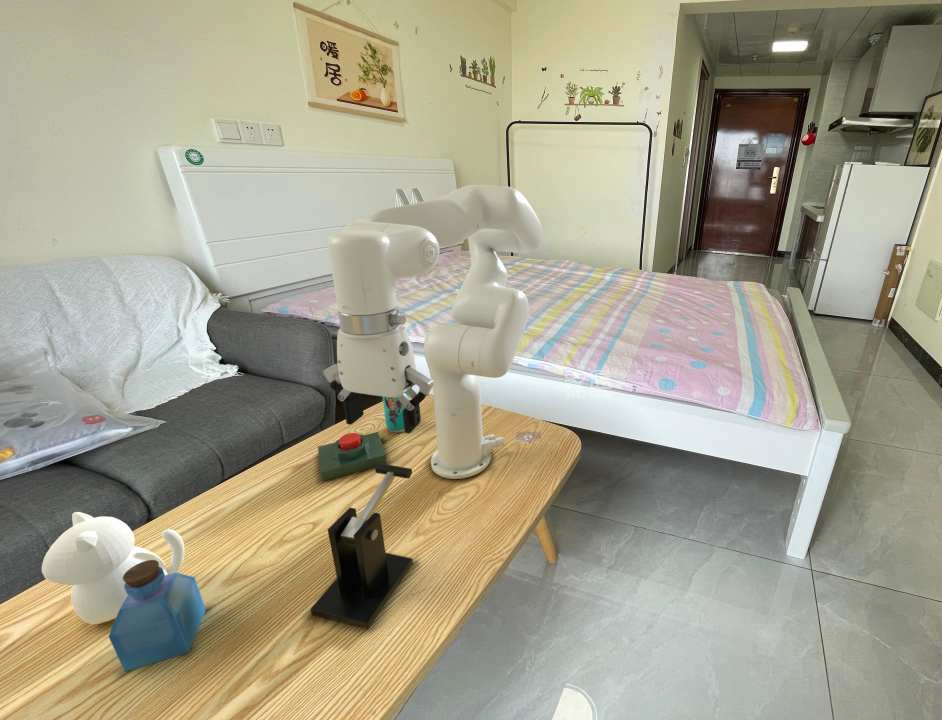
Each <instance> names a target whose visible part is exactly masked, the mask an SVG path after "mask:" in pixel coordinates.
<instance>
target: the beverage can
mask: <svg viewBox="0 0 942 720" xmlns="http://www.w3.org/2000/svg"><path fill="white" fill-rule="evenodd" d="M405 394H406V395H407V396H408V398H409V399H410V396H409V395H408V394H407V392H405ZM381 397H382V405H383V412H384V413H383V414H384V420H385V426H386V427H387V429H388V431H390V432H391V433H394V434H399V433H403V432H405V430H404V421H403V410H404V409H405V407H404V406H403V404H402V403H401V402H400V401H399V400H398V399H397V398H392V397H384V396H381Z"/></svg>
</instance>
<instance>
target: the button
mask: <svg viewBox="0 0 942 720" xmlns="http://www.w3.org/2000/svg"><path fill="white" fill-rule="evenodd" d="M338 440H339V445H340V448H341V449H342V450H350V449H354V448H356V447H358V446H360V444H361V439H360V435H359V433H358V432H350V433H349V432H348V433H345V434H344V435H341V436H340V437H339V439H338Z"/></svg>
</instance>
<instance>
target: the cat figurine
mask: <svg viewBox="0 0 942 720" xmlns="http://www.w3.org/2000/svg"><path fill="white" fill-rule="evenodd" d="M71 521H72V526H71V527H69V528H68V529H67V530H65V531H64V532H63V533H62V534H61V535H59V536H58V537H57V539H56V540H55V541H54V542H53V543H52V544H51V546H50V547H49V549H48V550H47V552H45V555H44V557H43V560H42V563H41V573H42V575H43V577H44V579H46V580H48V581H50V582H52V583H54V584H59V585H64V586H65V585H66V586H71V591H70V601H71V605H72V608H73V610H74V613H75V614H76V615H77V617H78V618H79V619H80V621H82V622H84V623H86V624H88V625H99V624H103V623H107V622H110V621H112V620H115V619H116V617H117V614H118V612H119V610H120V608H121V606H122V605H123V603H124V601H125V600H126V598H127V596H128V594H127V593H126V590H125V588H124V585H125V581H124V580H123V576H124V574H125V573H126V572H127V571H128V570H129V569H130V568H132V567H133V566H135V565H137V564H139V563H141V562H144V561H147V560H156V561H158V563H159V567H161V568H162V569H163V571H164V574H165V575H169V574H173V573H179V571H180V570H181V567H182V566H183V563H184V559H185V544H184V540H183V538H182V536H181V535H180V534H179V533H178V532H177V531H175V530H174V529H171V528H167V529H164V530H163V531H162V533H161V536H162V538H163V539H164V541H166V543H167V544H168V546H169V548H170V549H171V559H170V563H169V566H168V567H167V566H166V563H165V561H164V560H163V559H162V558H161V557H160V556H159V555H157V554H156V553H154V552H152V551H150V550H147V548H143V547H141V546H135V542H136V541H135V534H134V532H133V530H132V529H131V528H130V526H128V524H127V523H125V522H124V521H122V520H121V519H119V518H117V517H114V516H103V515H102V516H96V517H93V516H92V515H90V514H88V513H84V512H80V511H74V512H72V514H71Z"/></svg>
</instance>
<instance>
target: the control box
mask: <svg viewBox="0 0 942 720" xmlns="http://www.w3.org/2000/svg"><path fill="white" fill-rule="evenodd" d="M358 434H359V433H358ZM359 435H360V439H361V444H360V446H358V447H356V448H354V449H350V450H342V449H341V448H340V445H339V439H337V440H335V441H334V442H331V443H327V444H323V445H318V446H317V452H318V461H319V471H320V478H321V481H322V482H326V481H329V480H334V479H336V478H340V477H343V476H347V475H350V474H353V473H357V472H361V471H364V470H368V469H371V468H376V466H377V465H378V464H379V463H382V464H387V463H388V461H387V455H386V451H385V448H384V444H383V442H382V440H381V436H380V434H379V431H376V432H371V433H367V434H361V433H360V434H359Z"/></svg>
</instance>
